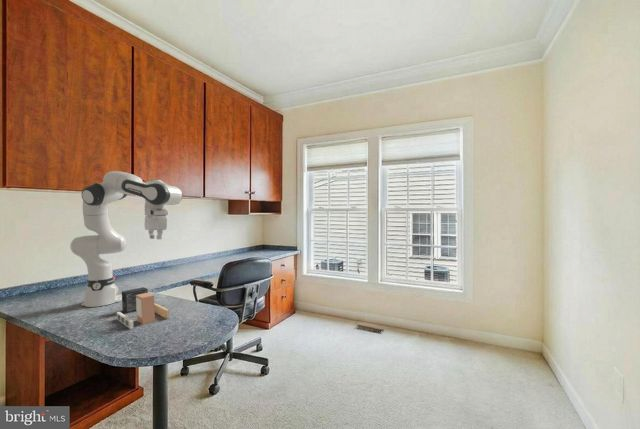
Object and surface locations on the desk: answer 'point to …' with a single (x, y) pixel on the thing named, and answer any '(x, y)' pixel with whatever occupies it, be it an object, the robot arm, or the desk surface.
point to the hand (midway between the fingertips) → (155, 239)
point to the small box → (131, 299)
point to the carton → (145, 308)
